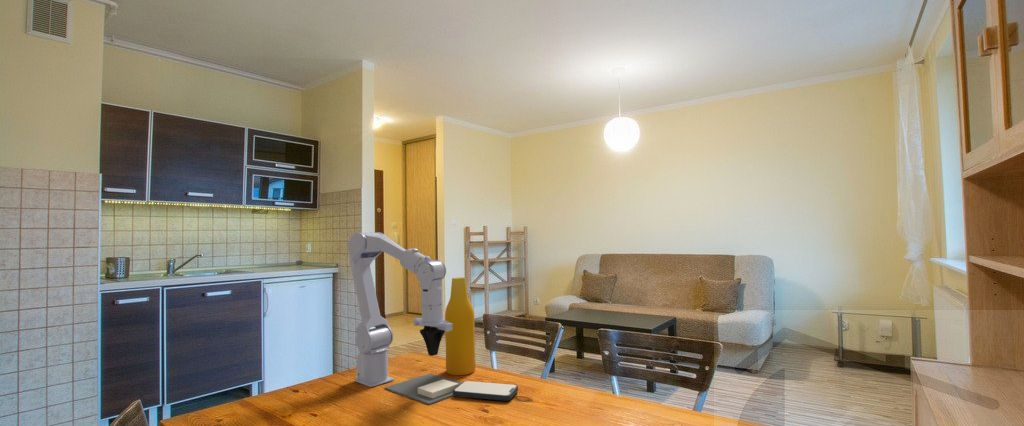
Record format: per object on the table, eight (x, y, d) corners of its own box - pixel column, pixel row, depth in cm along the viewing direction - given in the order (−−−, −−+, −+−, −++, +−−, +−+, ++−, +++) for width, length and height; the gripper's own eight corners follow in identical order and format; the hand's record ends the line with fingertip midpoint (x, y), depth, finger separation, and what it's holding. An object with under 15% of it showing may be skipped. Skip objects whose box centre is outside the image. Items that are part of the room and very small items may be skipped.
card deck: (417, 387, 122) (432, 392, 118) (443, 379, 129) (458, 383, 125) (417, 393, 122) (432, 399, 118) (443, 385, 129) (458, 389, 125)
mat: (384, 388, 128) (384, 387, 128) (430, 374, 140) (430, 373, 140) (429, 405, 115) (429, 403, 115) (475, 387, 127) (475, 386, 127)
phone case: (451, 397, 120) (509, 402, 115) (450, 391, 120) (509, 396, 115) (464, 386, 128) (519, 390, 123) (464, 380, 128) (519, 384, 123)
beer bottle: (470, 365, 149) (468, 275, 150) (479, 373, 141) (477, 278, 142) (442, 369, 145) (440, 277, 147) (450, 377, 137) (448, 280, 138)
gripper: (404, 304, 128) (405, 353, 127) (437, 309, 118) (438, 362, 118) (424, 301, 133) (425, 348, 133) (458, 305, 124) (459, 356, 123)
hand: (433, 354), depth 125 cm, fingers closed
